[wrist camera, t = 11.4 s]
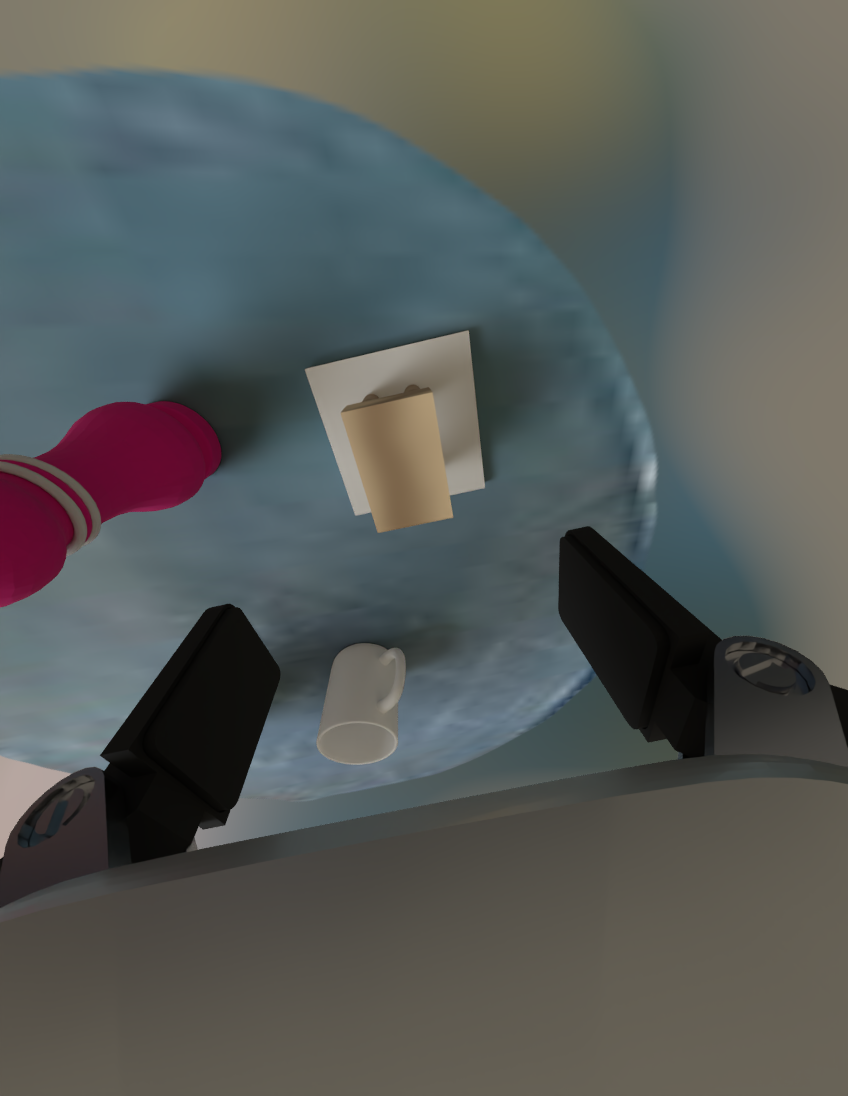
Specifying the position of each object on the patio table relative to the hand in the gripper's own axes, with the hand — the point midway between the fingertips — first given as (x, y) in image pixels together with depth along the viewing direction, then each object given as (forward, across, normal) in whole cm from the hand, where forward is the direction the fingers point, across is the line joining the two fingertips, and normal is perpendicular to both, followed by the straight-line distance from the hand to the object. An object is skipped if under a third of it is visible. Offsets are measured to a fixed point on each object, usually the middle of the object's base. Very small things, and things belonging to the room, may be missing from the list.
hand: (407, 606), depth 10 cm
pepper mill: (+22, +17, -4) cm, 28 cm away
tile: (+21, -1, -1) cm, 21 cm away
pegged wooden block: (+20, 0, -1) cm, 20 cm away
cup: (+22, +9, +25) cm, 35 cm away
